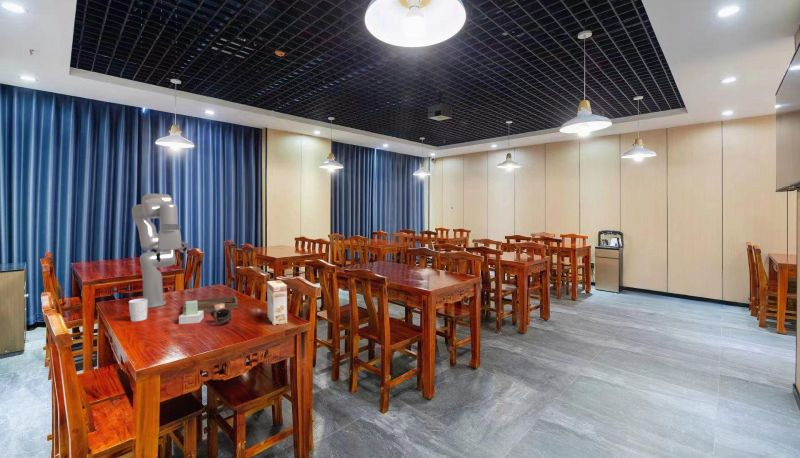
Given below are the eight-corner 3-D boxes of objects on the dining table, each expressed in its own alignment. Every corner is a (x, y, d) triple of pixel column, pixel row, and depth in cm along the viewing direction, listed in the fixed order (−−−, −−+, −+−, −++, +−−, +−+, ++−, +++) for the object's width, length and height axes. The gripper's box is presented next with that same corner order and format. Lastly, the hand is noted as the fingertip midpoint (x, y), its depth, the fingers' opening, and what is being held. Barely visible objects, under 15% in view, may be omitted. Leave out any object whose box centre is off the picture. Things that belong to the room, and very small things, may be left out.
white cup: (138, 322, 180) (137, 302, 179) (125, 321, 181) (124, 301, 181) (152, 317, 187) (151, 298, 187) (139, 316, 189) (138, 298, 188)
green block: (186, 312, 184) (185, 301, 184) (197, 311, 187) (196, 300, 186) (186, 315, 180) (186, 303, 179) (197, 314, 182) (197, 302, 182)
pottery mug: (237, 320, 186) (236, 309, 181) (225, 334, 178) (224, 322, 173) (216, 313, 187) (215, 302, 183) (204, 326, 179) (202, 315, 175)
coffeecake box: (287, 323, 180) (287, 285, 179) (273, 325, 177) (272, 286, 175) (281, 315, 193) (280, 279, 192) (267, 317, 189) (266, 281, 188)
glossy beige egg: (214, 312, 197) (214, 304, 196) (224, 311, 199) (224, 302, 199) (214, 315, 192) (214, 306, 192) (224, 314, 194) (224, 305, 194)
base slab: (184, 319, 186) (184, 311, 186) (203, 317, 189) (203, 310, 189) (179, 324, 178) (178, 316, 177) (199, 323, 180) (199, 315, 180)
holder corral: (184, 307, 207) (184, 301, 207) (236, 301, 220) (235, 295, 220) (182, 315, 192) (182, 308, 192) (237, 308, 205) (237, 302, 205)
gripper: (189, 226, 190) (190, 258, 191) (149, 227, 182) (151, 260, 183) (188, 227, 184) (189, 260, 185) (147, 228, 176) (148, 263, 177)
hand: (170, 260), depth 184 cm, fingers open, 9 cm apart
